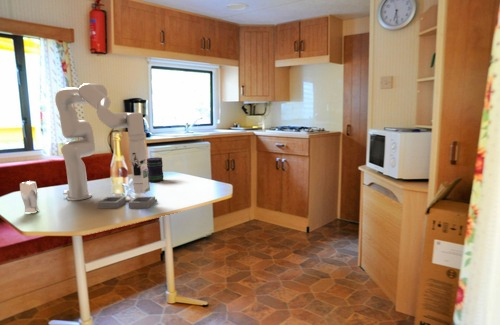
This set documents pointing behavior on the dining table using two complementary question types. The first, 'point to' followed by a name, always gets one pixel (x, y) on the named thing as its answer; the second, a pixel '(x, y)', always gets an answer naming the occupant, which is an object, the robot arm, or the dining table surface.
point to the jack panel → (133, 203)
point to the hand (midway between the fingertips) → (140, 173)
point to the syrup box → (141, 179)
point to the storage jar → (155, 170)
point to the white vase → (29, 195)
